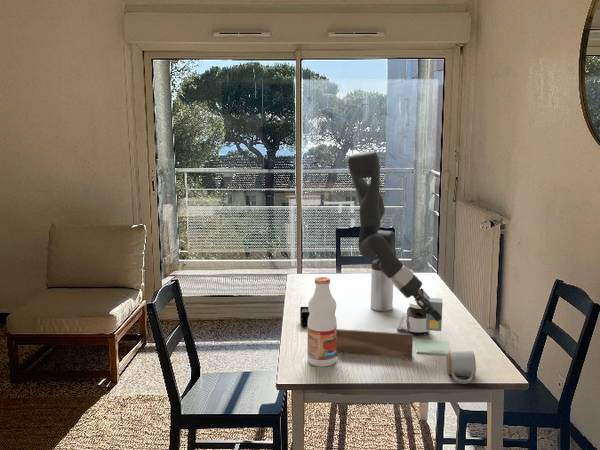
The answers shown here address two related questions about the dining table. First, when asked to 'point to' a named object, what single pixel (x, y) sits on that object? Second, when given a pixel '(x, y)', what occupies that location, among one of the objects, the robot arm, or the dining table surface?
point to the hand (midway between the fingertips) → (439, 316)
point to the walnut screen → (374, 343)
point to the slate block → (430, 321)
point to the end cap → (304, 316)
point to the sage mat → (432, 347)
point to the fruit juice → (322, 325)
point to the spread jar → (414, 320)
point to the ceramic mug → (461, 365)
